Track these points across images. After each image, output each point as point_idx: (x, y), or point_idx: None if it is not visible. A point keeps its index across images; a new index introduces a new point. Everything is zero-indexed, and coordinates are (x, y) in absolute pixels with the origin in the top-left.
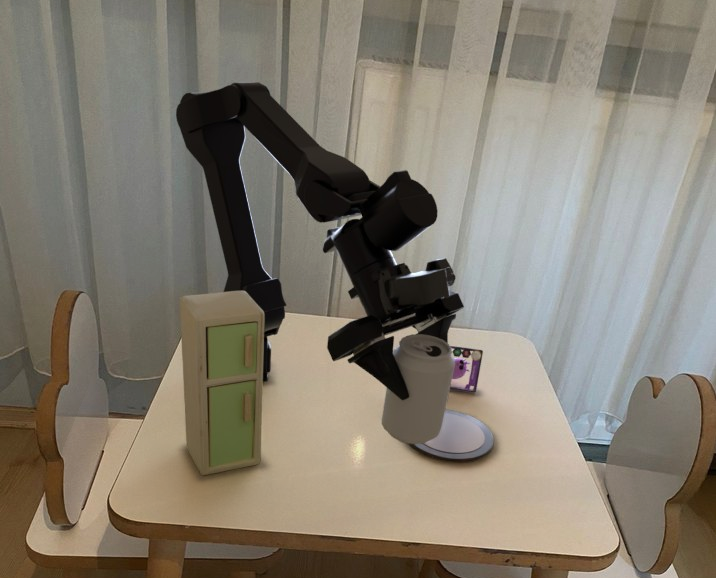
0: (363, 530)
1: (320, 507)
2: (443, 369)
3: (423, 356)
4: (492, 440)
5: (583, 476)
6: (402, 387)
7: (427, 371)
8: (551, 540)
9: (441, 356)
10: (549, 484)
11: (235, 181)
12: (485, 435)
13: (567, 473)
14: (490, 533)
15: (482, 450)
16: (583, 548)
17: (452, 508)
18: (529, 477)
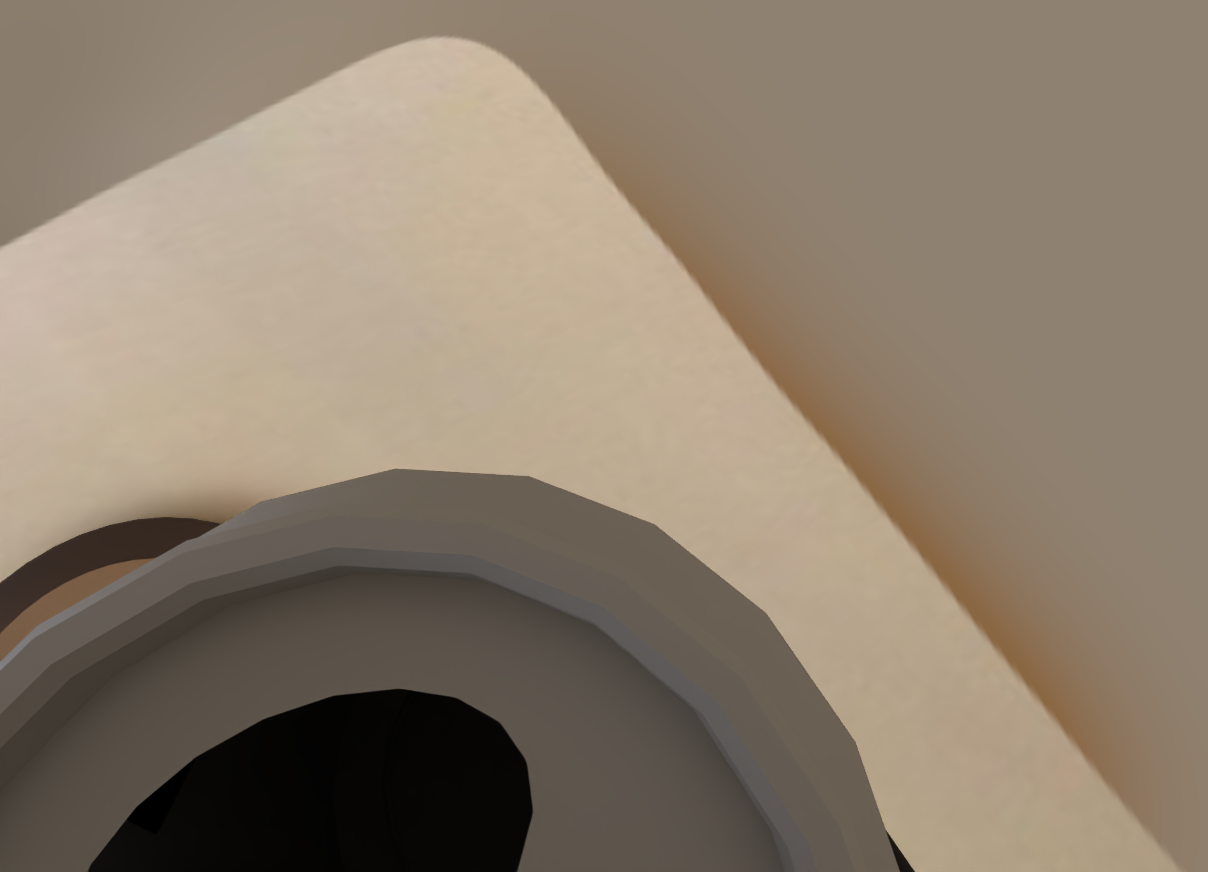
0: (964, 633)
1: (1001, 861)
2: (567, 509)
3: (807, 822)
4: (73, 542)
5: (109, 194)
6: (896, 849)
7: (780, 646)
8: (535, 154)
9: (521, 572)
10: (237, 262)
11: None
12: (48, 586)
13: (124, 240)
14: (640, 299)
15: (183, 538)
16: (504, 79)
17: (613, 454)
18: (238, 330)
